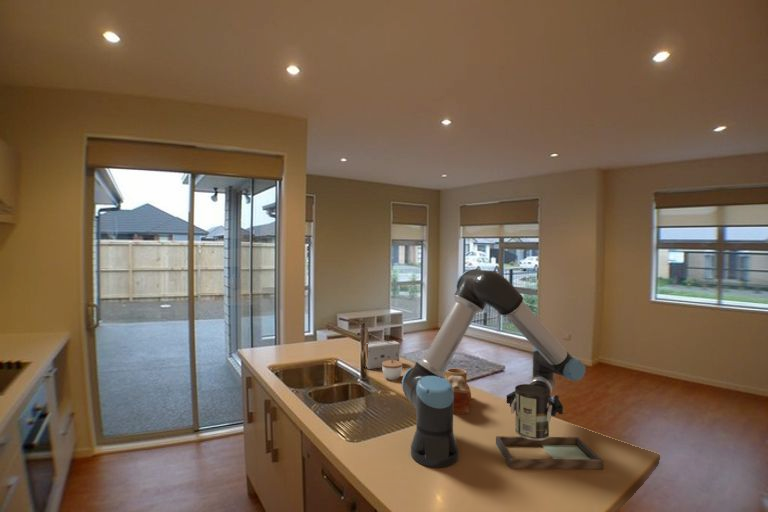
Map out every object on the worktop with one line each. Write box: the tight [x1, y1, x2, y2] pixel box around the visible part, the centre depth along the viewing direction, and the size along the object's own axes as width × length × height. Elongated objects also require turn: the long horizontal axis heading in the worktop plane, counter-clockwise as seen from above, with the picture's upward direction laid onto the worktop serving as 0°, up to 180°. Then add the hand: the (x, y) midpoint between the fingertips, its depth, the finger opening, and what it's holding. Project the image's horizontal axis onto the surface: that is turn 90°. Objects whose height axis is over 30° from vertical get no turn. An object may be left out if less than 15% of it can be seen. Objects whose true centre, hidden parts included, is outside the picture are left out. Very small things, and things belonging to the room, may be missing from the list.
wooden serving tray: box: [495, 435, 604, 470], centre depth 119 cm, size 28×15×2 cm, turn 90°
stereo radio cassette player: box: [366, 333, 401, 370], centre depth 212 cm, size 21×8×20 cm, turn 115°
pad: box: [541, 445, 589, 459], centre depth 119 cm, size 12×12×1 cm
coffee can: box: [514, 383, 550, 441], centre depth 119 cm, size 10×10×14 cm
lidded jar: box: [381, 360, 403, 381], centre depth 192 cm, size 11×11×9 cm
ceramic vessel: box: [445, 367, 472, 415], centre depth 158 cm, size 14×26×15 cm, turn 170°
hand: (529, 413), depth 116 cm, fingers closed on coffee can, 10 cm apart
